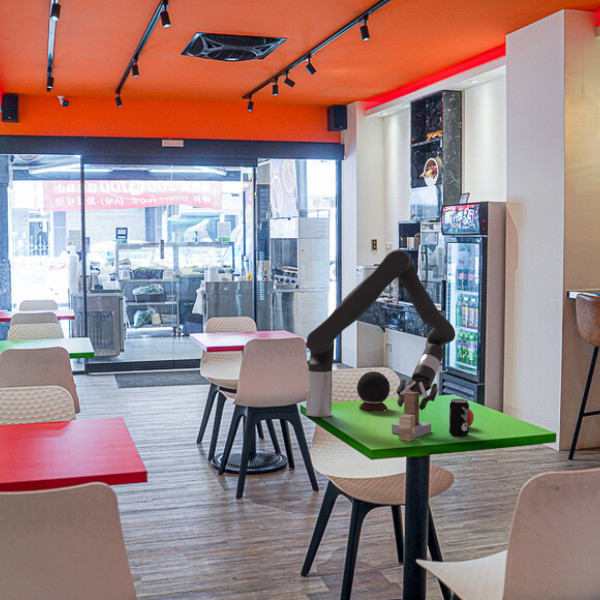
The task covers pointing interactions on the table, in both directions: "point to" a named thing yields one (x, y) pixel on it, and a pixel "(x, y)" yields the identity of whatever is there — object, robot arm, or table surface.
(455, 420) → the beverage can
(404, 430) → the birch peg
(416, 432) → the socket block
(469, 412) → the apple
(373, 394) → the dark ball
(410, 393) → the walnut peg
